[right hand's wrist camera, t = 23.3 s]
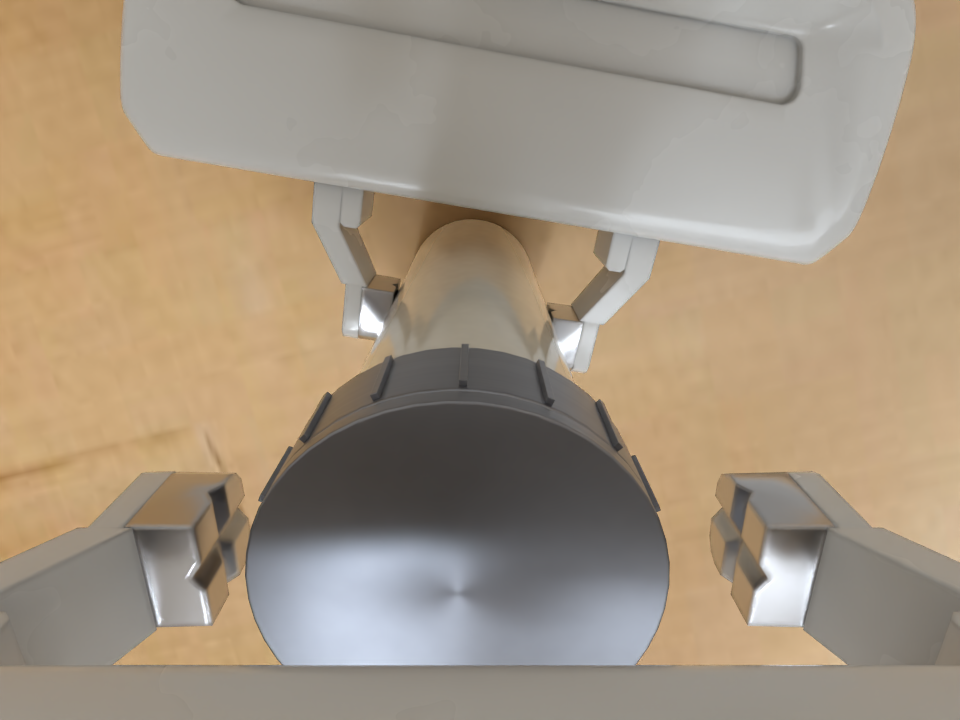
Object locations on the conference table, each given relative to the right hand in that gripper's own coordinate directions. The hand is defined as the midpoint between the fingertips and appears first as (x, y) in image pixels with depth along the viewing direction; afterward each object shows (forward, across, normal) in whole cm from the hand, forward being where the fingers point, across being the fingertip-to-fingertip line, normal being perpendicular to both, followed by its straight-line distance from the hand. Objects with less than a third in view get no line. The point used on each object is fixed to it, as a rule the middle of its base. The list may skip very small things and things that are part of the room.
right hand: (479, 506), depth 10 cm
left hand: (+10, 0, -1) cm, 10 cm away
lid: (-2, 0, 0) cm, 2 cm away
